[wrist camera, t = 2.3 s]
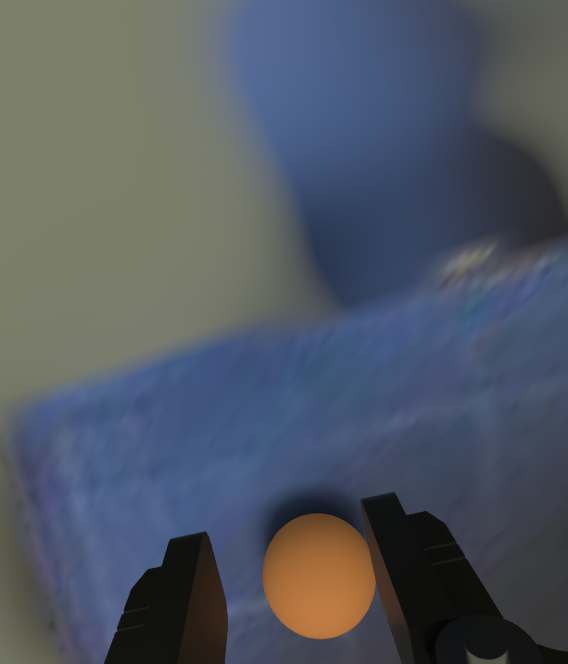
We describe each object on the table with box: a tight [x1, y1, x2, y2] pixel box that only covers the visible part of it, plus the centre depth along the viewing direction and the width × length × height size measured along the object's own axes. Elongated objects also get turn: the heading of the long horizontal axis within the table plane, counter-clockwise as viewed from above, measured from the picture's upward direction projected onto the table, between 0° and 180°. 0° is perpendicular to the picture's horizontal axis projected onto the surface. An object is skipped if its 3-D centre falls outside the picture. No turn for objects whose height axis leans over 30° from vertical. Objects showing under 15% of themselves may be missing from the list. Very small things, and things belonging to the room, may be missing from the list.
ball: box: [262, 513, 376, 639], centre depth 25 cm, size 6×6×6 cm
